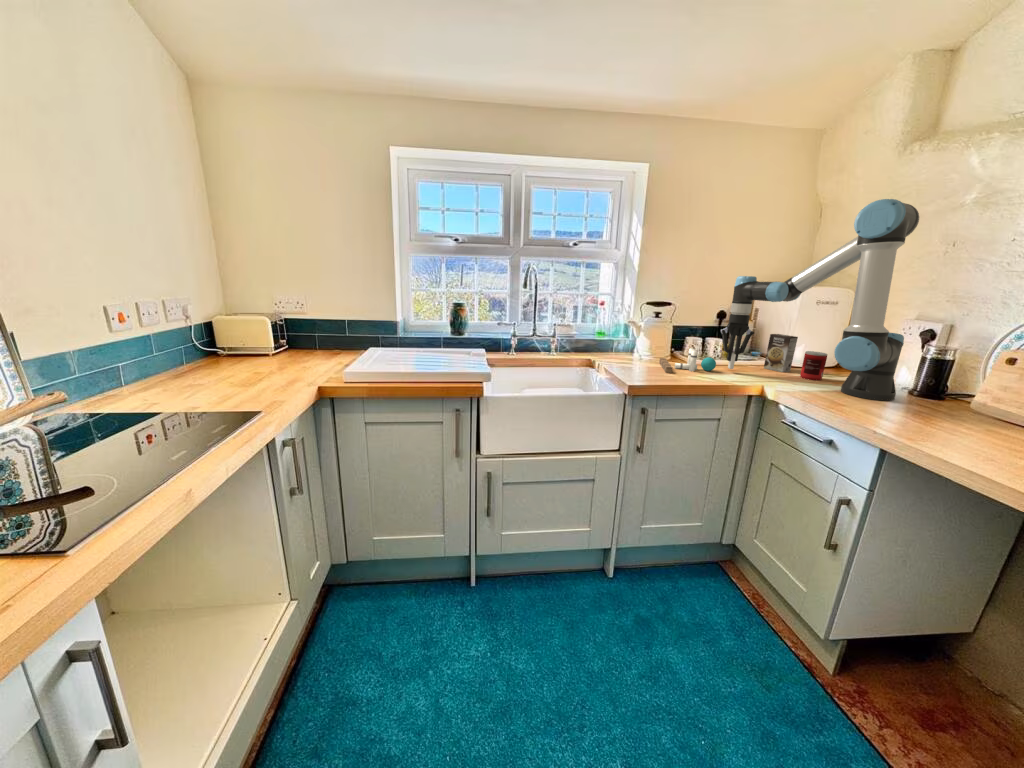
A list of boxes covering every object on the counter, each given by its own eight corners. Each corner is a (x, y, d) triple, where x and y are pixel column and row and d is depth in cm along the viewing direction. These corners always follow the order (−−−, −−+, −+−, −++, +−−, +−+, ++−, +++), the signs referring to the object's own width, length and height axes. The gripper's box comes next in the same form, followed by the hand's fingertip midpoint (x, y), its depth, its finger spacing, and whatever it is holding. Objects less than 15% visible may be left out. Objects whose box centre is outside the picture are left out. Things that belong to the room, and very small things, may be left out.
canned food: (814, 376, 177) (820, 351, 175) (826, 381, 170) (832, 355, 167) (795, 375, 178) (801, 350, 175) (806, 380, 170) (812, 354, 168)
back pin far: (692, 369, 183) (695, 349, 181) (686, 368, 184) (689, 349, 182) (691, 368, 186) (694, 348, 184) (685, 367, 186) (688, 348, 184)
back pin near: (695, 371, 179) (698, 351, 176) (689, 371, 179) (692, 350, 177) (694, 370, 181) (697, 350, 179) (688, 370, 181) (691, 350, 179)
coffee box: (762, 368, 191) (769, 333, 187) (771, 367, 194) (777, 333, 190) (782, 372, 183) (790, 336, 179) (791, 371, 186) (798, 336, 182)
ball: (700, 363, 178) (706, 374, 179) (713, 356, 176) (720, 367, 177) (697, 360, 184) (703, 371, 185) (710, 353, 182) (716, 364, 183)
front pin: (697, 364, 180) (676, 362, 182) (696, 370, 181) (675, 368, 182) (696, 364, 183) (675, 362, 185) (695, 370, 183) (674, 368, 185)
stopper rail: (671, 373, 174) (672, 367, 173) (665, 372, 174) (666, 367, 174) (664, 363, 195) (665, 358, 194) (659, 362, 195) (659, 357, 195)
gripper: (753, 313, 175) (744, 367, 181) (721, 312, 178) (712, 365, 184) (760, 315, 168) (749, 371, 174) (725, 313, 170) (716, 369, 176)
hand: (730, 368), depth 179 cm, fingers closed
